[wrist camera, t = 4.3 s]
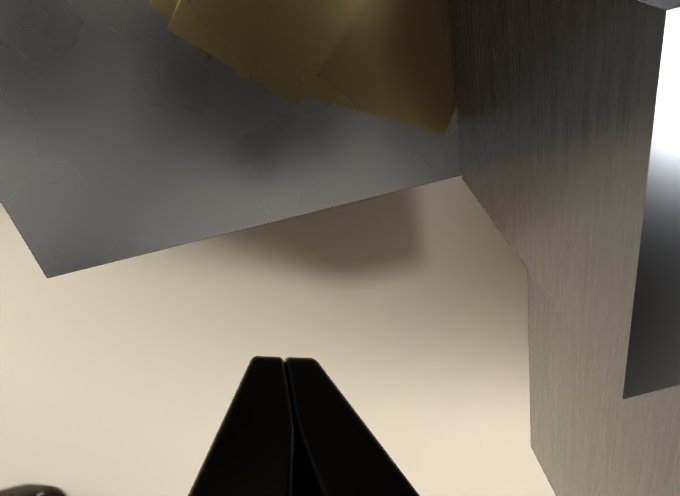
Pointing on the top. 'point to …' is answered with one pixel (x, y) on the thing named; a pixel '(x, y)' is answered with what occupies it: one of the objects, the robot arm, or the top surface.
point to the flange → (171, 139)
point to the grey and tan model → (527, 182)
